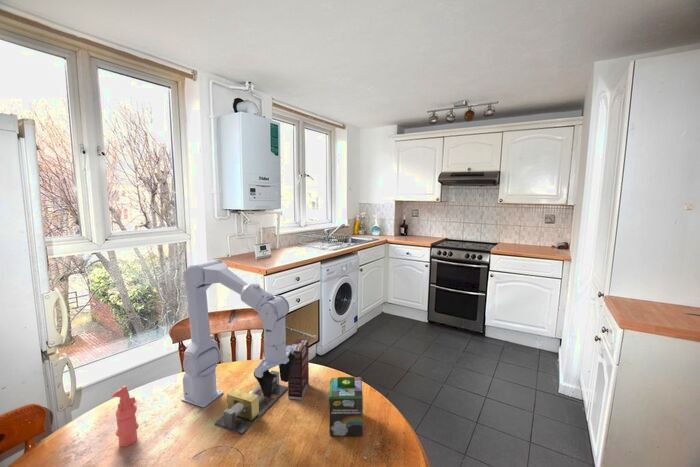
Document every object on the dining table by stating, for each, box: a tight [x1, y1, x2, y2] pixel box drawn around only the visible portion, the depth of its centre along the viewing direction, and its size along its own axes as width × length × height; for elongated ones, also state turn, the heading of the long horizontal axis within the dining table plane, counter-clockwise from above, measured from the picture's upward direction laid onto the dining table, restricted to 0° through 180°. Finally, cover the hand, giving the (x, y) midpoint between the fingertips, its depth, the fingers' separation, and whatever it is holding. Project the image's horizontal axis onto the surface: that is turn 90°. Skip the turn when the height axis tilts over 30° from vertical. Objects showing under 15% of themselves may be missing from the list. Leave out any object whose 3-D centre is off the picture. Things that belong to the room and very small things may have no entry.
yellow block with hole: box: [226, 388, 259, 420], centre depth 91 cm, size 3×9×6 cm, turn 68°
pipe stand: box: [214, 370, 288, 435], centre depth 96 cm, size 22×10×5 cm, turn 158°
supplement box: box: [287, 338, 310, 401], centre depth 102 cm, size 9×5×16 cm, turn 173°
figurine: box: [111, 385, 140, 448], centre depth 81 cm, size 5×5×15 cm
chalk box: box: [328, 376, 364, 437], centre depth 87 cm, size 9×9×15 cm
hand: (276, 388), depth 88 cm, fingers open, 7 cm apart
